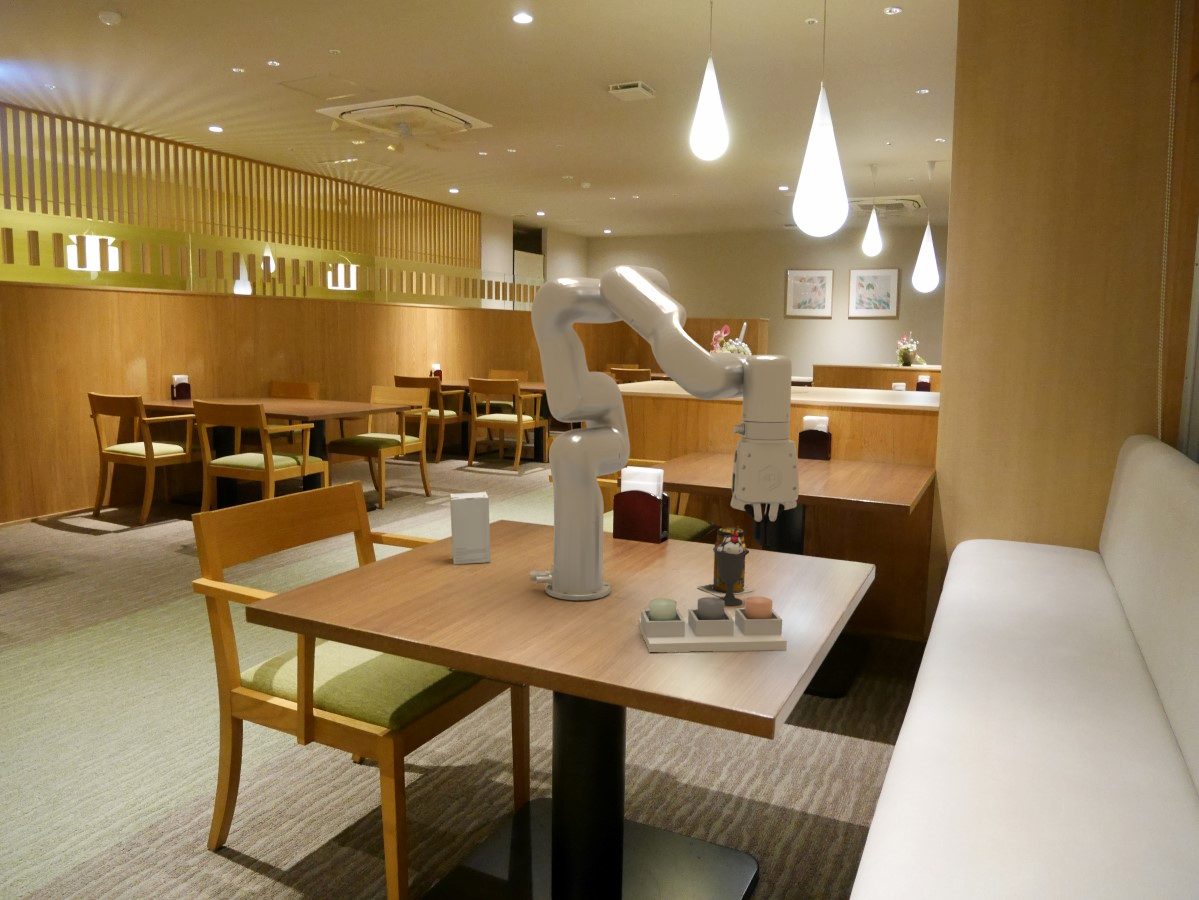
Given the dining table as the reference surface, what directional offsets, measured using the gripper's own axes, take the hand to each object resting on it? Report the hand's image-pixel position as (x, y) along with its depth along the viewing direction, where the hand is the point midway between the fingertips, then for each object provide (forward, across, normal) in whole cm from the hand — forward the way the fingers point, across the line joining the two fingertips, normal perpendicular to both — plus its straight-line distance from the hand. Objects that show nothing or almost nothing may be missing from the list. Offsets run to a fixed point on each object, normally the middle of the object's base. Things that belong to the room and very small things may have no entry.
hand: (762, 543), depth 140 cm
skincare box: (+15, -50, +51) cm, 73 cm away
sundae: (+16, 0, +19) cm, 25 cm away
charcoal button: (+13, -8, 0) cm, 15 cm away
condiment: (+16, +1, +27) cm, 32 cm away
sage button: (+13, -16, 0) cm, 21 cm away
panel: (+16, -8, 0) cm, 18 cm away
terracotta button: (+13, 0, 0) cm, 13 cm away
